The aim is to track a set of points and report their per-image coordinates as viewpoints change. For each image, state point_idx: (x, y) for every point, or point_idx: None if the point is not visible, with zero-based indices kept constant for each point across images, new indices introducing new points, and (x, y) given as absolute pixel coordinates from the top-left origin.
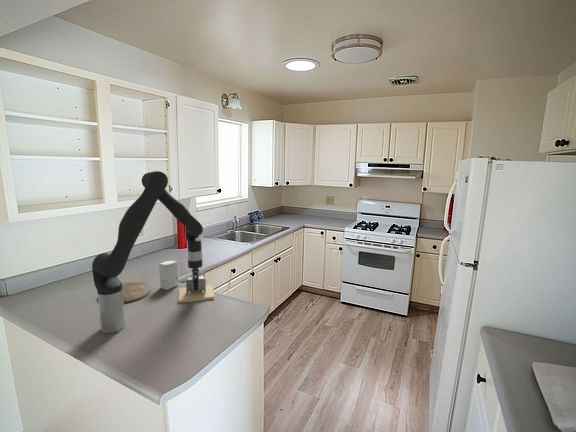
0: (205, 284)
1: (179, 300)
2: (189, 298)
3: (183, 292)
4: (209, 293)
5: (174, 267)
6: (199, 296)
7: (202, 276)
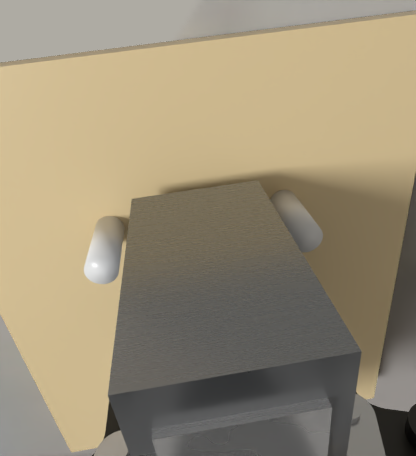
0: (296, 245)
1: (374, 389)
2: (368, 325)
3: None
4: (294, 106)
5: None
6: (356, 236)
7: (155, 454)
